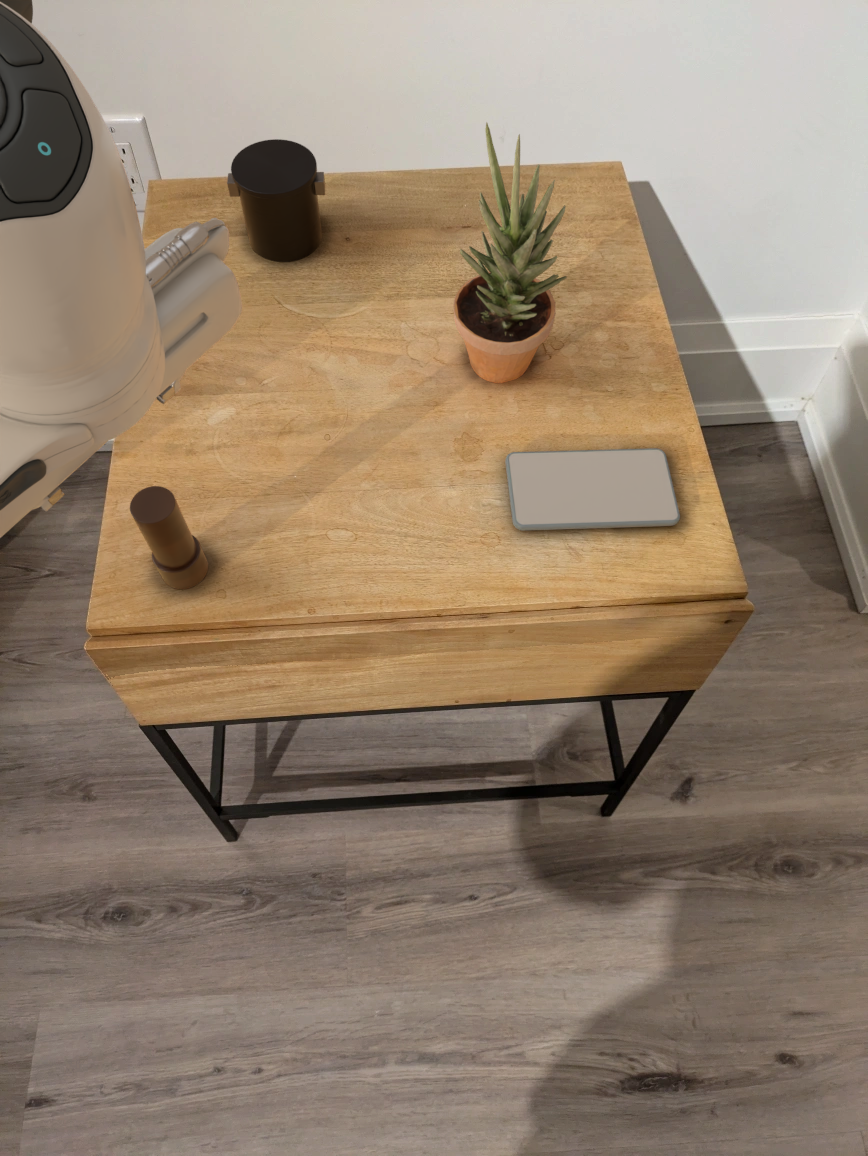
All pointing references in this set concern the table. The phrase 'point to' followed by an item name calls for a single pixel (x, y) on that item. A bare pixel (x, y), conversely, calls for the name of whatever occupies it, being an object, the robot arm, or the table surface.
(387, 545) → the table surface
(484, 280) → the potted plant
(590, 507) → the smartphone
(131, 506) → the walnut pestle
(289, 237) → the black cooking pot
